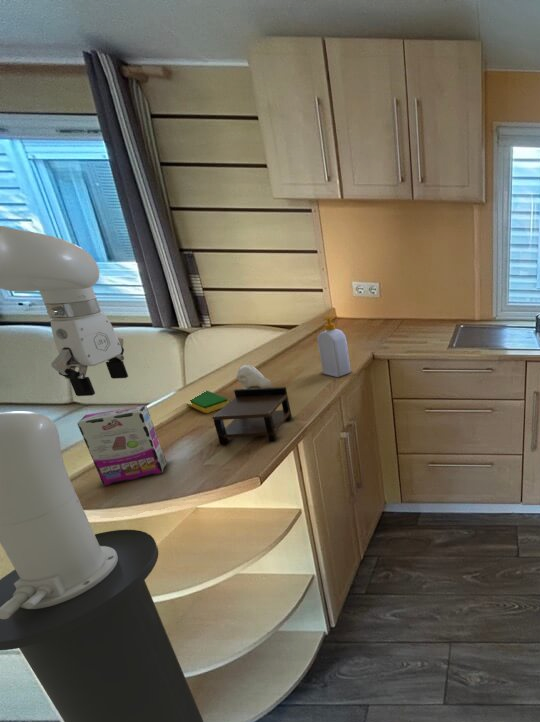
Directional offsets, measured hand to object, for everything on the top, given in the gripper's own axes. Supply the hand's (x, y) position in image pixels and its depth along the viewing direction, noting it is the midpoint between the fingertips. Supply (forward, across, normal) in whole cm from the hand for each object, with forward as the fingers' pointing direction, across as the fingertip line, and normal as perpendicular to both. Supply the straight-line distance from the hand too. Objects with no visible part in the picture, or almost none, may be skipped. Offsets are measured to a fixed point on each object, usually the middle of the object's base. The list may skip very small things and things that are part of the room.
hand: (104, 386), depth 89 cm
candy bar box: (+23, -1, 0) cm, 23 cm away
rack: (+23, +18, -20) cm, 36 cm away
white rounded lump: (+24, +51, -7) cm, 57 cm away
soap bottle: (+24, +65, -32) cm, 76 cm away
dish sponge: (+24, +39, +4) cm, 46 cm away
